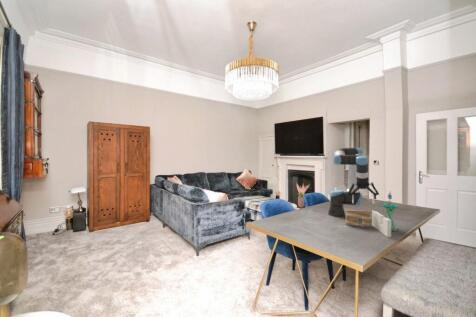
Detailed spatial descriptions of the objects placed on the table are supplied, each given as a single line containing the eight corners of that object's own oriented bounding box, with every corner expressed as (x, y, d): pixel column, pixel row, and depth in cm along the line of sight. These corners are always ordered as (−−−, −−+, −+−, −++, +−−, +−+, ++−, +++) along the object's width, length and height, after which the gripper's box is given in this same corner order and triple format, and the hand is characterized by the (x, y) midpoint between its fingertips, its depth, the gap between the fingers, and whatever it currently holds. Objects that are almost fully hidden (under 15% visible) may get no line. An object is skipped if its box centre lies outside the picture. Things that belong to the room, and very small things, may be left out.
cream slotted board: (371, 224, 178) (372, 210, 178) (374, 225, 177) (375, 210, 177) (387, 236, 152) (387, 220, 152) (390, 237, 152) (391, 220, 152)
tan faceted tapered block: (345, 223, 180) (345, 209, 180) (368, 225, 177) (369, 210, 176) (346, 224, 178) (346, 210, 177) (370, 226, 174) (370, 211, 174)
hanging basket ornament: (380, 225, 177) (381, 189, 177) (396, 227, 173) (397, 190, 172) (382, 229, 168) (383, 191, 167) (399, 231, 163) (400, 192, 162)
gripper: (343, 179, 159) (345, 204, 164) (383, 178, 149) (383, 205, 155) (343, 175, 166) (344, 200, 171) (381, 174, 156) (381, 200, 161)
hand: (363, 202), depth 163 cm, fingers open, 13 cm apart
